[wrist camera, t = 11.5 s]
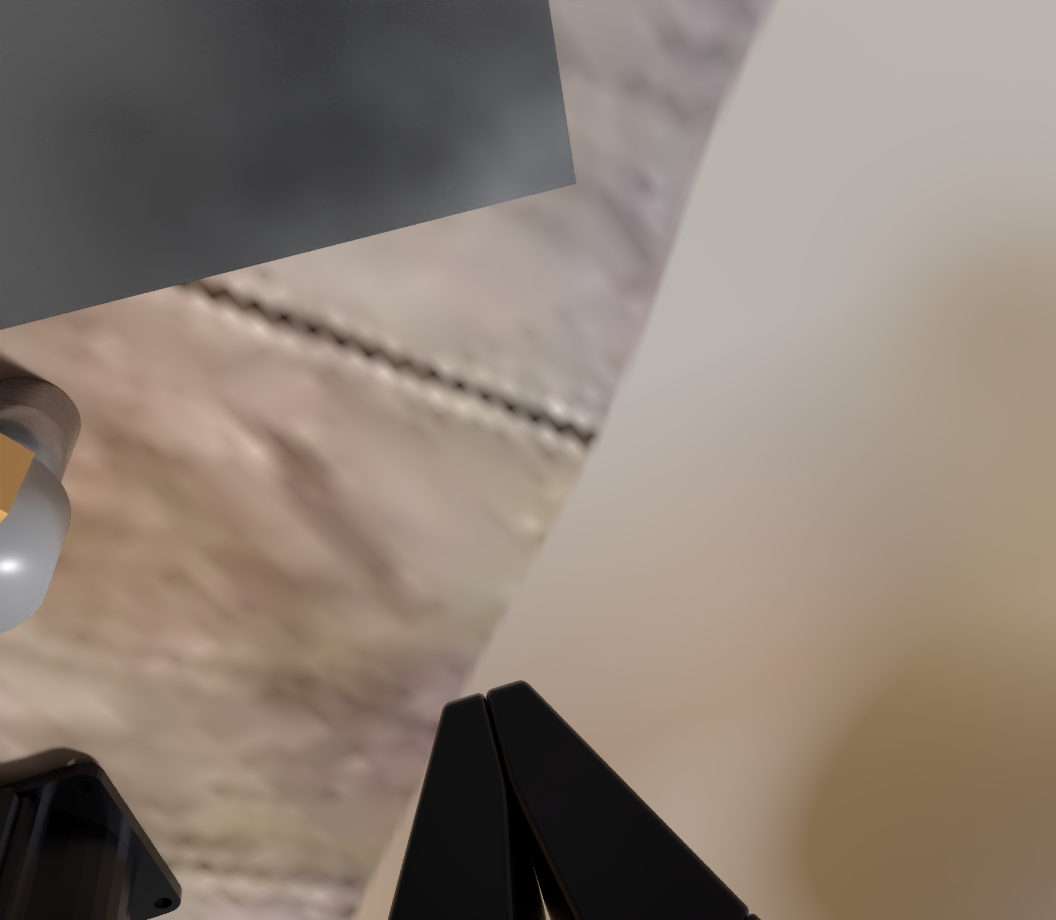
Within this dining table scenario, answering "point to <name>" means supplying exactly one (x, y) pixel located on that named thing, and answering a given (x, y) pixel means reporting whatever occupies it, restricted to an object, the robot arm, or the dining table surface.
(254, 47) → the power supply unit
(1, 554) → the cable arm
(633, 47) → the dining table surface
